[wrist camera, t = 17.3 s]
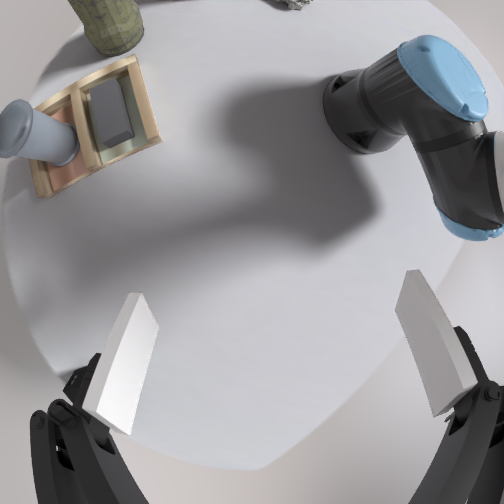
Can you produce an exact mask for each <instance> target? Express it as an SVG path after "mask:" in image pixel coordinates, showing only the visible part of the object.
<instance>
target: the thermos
mask: <svg viewBox="0 0 504 504" xmlns="http://www.w3.org/2000/svg"><path fill="white" fill-rule="evenodd" d="M68 1H69V3H70V4H71V6H72V8H73V9H74V11H75V12H76V14H77V15H78V17H79V18H80V20H81V21H82V23H83V25H84V32H85V34H86V36H87V37H88V39H89V40H90V41H91V43H92V44H93V45H94V47H95V48H97V50H98V51H99V52H100V53H101V54H102V55H104V56H112V57H113V56H118V55H121V54H124V53H126V52H128V51H130V50H131V49H132V48H134V47H135V46H136V45H137V44H138V43H139V42H140V41H141V39H142V37H143V35H144V28H143V24H142V23H143V21H142V18H141V14H140V11H139V8H138V4H137V3H136V2H134V1H133V0H68Z"/></svg>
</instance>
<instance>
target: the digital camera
mask: <svg viewBox="0 0 504 504" xmlns="http://www.w3.org/2000/svg"><path fill="white" fill-rule="evenodd" d="M86 369H87V366H86V367H83V368H80V369H78V370H75V371H74V373H73V375H72V376H71V378H70V379H69V381H68V383H67V384H66V386H65V387H64V389H63V392H64V393H65V394H66V395H67V397H68V398H69V399H70V400H71V402H72V403H74V401H75V398H76V395H77V392H78V390H79V387H80V384H81V382H82V379H83V376H84V374H85V372H86Z"/></svg>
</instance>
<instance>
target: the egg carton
mask: <svg viewBox="0 0 504 504" xmlns="http://www.w3.org/2000/svg"><path fill="white" fill-rule="evenodd" d="M275 1H284V2H286V3H287V4H288V8H289V9H291V10H294V9H297V10H302V9H303V8H304V6H305V5H306V4H310V3H311V2H312V1H313V0H303V1H302V2H294V1H297V0H275Z"/></svg>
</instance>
